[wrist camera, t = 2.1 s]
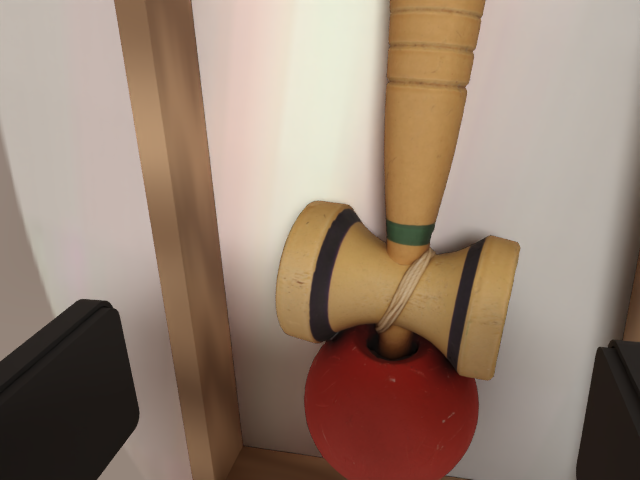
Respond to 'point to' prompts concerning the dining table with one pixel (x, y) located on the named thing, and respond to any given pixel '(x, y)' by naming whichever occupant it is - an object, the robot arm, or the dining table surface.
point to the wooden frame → (202, 245)
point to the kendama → (400, 278)
